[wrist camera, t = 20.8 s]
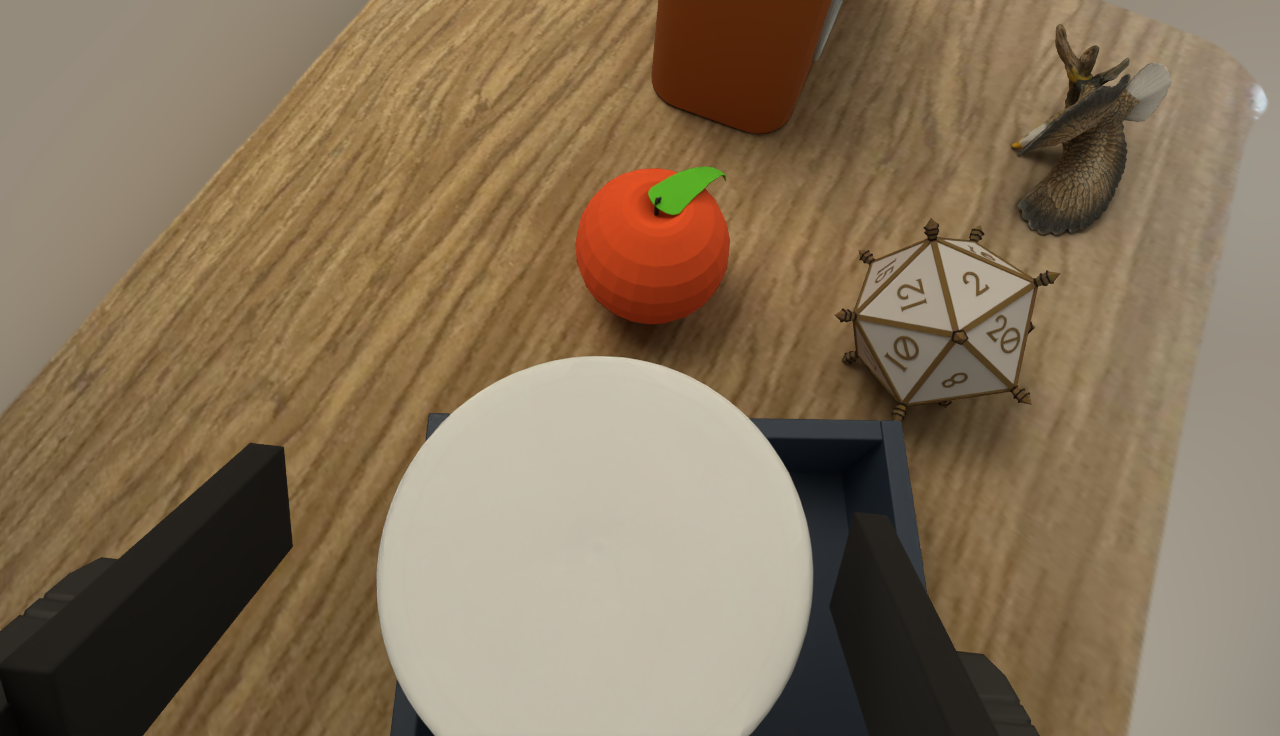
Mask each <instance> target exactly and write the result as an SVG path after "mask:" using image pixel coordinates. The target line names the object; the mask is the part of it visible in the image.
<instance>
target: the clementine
mask: <svg viewBox="0 0 1280 736" xmlns="http://www.w3.org/2000/svg"><path fill="white" fill-rule="evenodd" d="M720 176H723V178H724V180H725V181H726V176H725V174H724V173H723V172H721V171H720V170H718V169H716V168H713V167H698V168H691V169H688V170H685V171H681V172H679V173H677V172H674V171H671V170H665V169H659V168H655V169H640V170H636V171H632V172H629V173H625V174H622V175H620V176H618V177H617V178H615V179H613V180H611V181H609V182H608V183H607V184H606V185H605V186H604V187H603V188H602V189H600V190H599V191H598V192H597V193H596V195H595V196H594V197H593V198H592V199H591V201H590V202H589V204H588V206H587V207H586V209H585V211H584V212H583V214H582V216H581V220H580V224H579V229H578V233H577V238H576V255H577V263H578V266H579V269H580V272H581V274H582V277H583V279H584V282H585V284H586V287H587V288H588V289H589V291H590V292H591V293H592V295H593V296H594V297H595V298H596V300H597V301H598V302H600V303H601V304H602V305H604V306H605V307H606V308H607V309H609V310H610V311H611V312H613V313H614V314H616V315H618V316H620V317H622V318H625V319H627V320H629V321H632V322H637V323H643V324H661V323H668V322H671V321H674V320H677V319H680V318H683V317H686V316H688V315H689V314H691V313H693V312H694V311H696V310H697V309H699V308H700V307H702V306H703V305H704V304H705V303H706V302H707V301H708V299H709V298H710V297H711V296H712V295H713V294H714V292H715V291H716V289H717V288H718V286H719V284H720V282H721V280H722V278H723V276H724V274H725V272H726V269H727V263H728V256H729V245H730V239H729V233H728V228H727V223H726V221H725V219H724V217H723V214H722V212H721V210H720V208H719V206H718V204H717V202H716V200H715V199H714V198H713V197H712V196H711V195H710V193H709V192H708V191H707V190H706V189H705V187H706V186H707V185H708V184H709V183H711V182H712V181H714V180H715V179H717V178H718V177H720Z"/></svg>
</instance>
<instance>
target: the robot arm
mask: <svg viewBox="0 0 1280 736" xmlns="http://www.w3.org/2000/svg"><path fill="white" fill-rule="evenodd" d="M292 547H293V544H292V533H291V522H290V510H289V499H288V488H287V477H286V466H285V455H284V447H281V446H272V445H264V444H255V443H250V444H248V445H247V446H246V447H245V448H244V449H243V450H242V451H240V452H239V453H238V454H237V455H236V456H235V457H234V458H233V459H231V460H230V461H229V462H228V463H227V464H226V465H225V466H223V467H222V468H221V469H220V470H219V471H218V472H217V473H216V474H214V475H213V476H212V477H211V478H210V479H209V480H208V481H206V482H205V483H204V484H203V485H202V486H201V487H200V488H198V489H197V490H196V491H195V492H194V493H193V494H192V495H191V496H189V497H188V498H187V499H186V500H185V501H184V502H183V503H181V504H180V505H179V506H178V507H177V508H176V509H175V510H174V511H172V512H171V513H170V514H169V515H168V516H167V517H166V518H164V519H163V520H162V521H161V522H160V523H159V524H158V525H157V526H155V527H154V528H153V529H152V530H151V531H150V532H149V533H147V534H146V535H145V536H144V537H143V538H142V539H141V540H140V541H138V542H137V543H136V544H135V545H134V546H133V547H132V548H130V549H129V550H128V551H127V552H126V553H125V554H124V555H122V556H121V557H120V558H119V559H112V558H103V557H101V558H99V559H97V560H95V561H93V562H91V563H89V564H87V565H85V566H83V567H81V568H79V569H77V570H76V571H74V572H72V573H70V574H68V575H67V576H66V577H65V578H63V579H62V580H61V581H60V582H59V583H57V584H56V585H55V586H54V587H53V588H51V589H50V590H49V591H48V592H47V593H45V596H44V598H39V599H38V600H37V601H36V602H35V603H33V604H32V605H31V606H30V607H29V608H27V609H26V610H25V612H24V614H23V616H22V615H19V616H18V617H17V618H15V619H14V620H13V621H12V622H11V623H9V624H8V625H7V626H6V627H5V628H3V629H2V630H1V631H0V736H143V735H144V733H145V732H146V731H147V730H148V728H149V727H150V726H151V725H152V723H153V722H154V721H155V720H156V718H157V717H158V716H159V715H160V713H161V712H162V711H163V710H164V708H165V707H166V706H167V704H168V703H169V702H170V701H171V699H172V698H173V697H174V696H175V694H176V693H177V692H178V691H179V689H180V688H181V687H182V686H183V684H184V683H185V682H186V681H187V679H188V678H189V677H190V675H191V674H192V673H193V672H194V670H195V669H196V668H197V667H198V665H199V664H200V663H201V662H202V660H203V659H204V658H205V657H206V655H207V654H208V653H209V652H210V650H211V649H212V648H213V646H214V645H215V644H216V643H217V641H218V640H219V639H220V638H221V636H222V635H223V634H224V633H225V631H226V630H227V629H228V628H229V626H230V625H231V624H232V623H233V621H234V620H235V619H236V617H237V616H238V615H239V614H240V612H241V611H242V610H243V609H244V607H245V606H246V605H247V604H248V602H249V601H250V600H251V599H252V597H253V596H254V595H255V594H256V592H257V591H258V590H259V588H260V587H261V586H262V585H263V583H264V582H265V581H266V580H267V578H268V577H269V576H270V575H271V573H272V572H273V571H274V570H275V568H276V567H277V566H278V565H279V563H280V562H281V561H282V559H283V558H284V557H285V556H286V554H287V553H288V552H289V551H290V549H291V548H292ZM829 608H830V611H831V615H832V618H833V621H834V624H835V627H836V631H837V634H838V637H839V640H840V644H841V647H842V650H843V653H844V656H845V660H846V663H847V666H848V669H849V673H850V676H851V679H852V682H853V685H854V689H855V692H856V695H857V698H858V702H859V705H860V708H861V711H862V715H863V718H864V721H865V724H866V727H867V731H868V734H869V736H1040V735H1039V734H1038V732H1037V730H1036V728H1035V727H1034V725H1031V720H1030V718H1029V716H1028V714H1027V713H1026V711H1025V709H1024V707H1023V706H1022V705H1020V703H1019V702H1020V700H1019V699H1018V697H1017V695H1016V693H1015V691H1014V690H1013V688H1012V686H1011V684H1010V683H1009V681H1008V679H1007V677H1006V676H1005V675H1004V674H1003V673H1002V672H1001V671H1000V670H999V669H998V668H997V667H996V666H995V665H994V664H993V663H992V662H991V661H990V660H989V659H988V658H987V657H986V656H985V655H984V654H978V653H969V652H960V651H956V650H955V648H954V646H953V644H952V642H951V640H950V638H949V636H948V634H947V632H946V630H945V628H944V626H943V624H942V622H941V620H940V618H939V616H938V614H937V612H936V610H935V608H934V606H933V604H932V602H931V600H930V598H929V596H928V594H927V592H926V590H925V588H924V587H923V585H922V583H921V581H920V579H919V577H918V575H917V573H916V571H915V569H914V567H913V565H912V563H911V561H910V559H909V557H908V555H907V553H906V551H905V549H904V547H903V545H902V543H901V541H900V539H899V537H898V535H897V533H896V531H895V529H894V527H893V525H892V523H891V522H890V520H889V518H888V516H886V515H878V514H869V513H860V512H854V516H853V520H852V523H851V527H850V531H849V534H848V538H847V542H846V546H845V549H844V553H843V557H842V561H841V564H840V568H839V572H838V575H837V579H836V583H835V587H834V590H833V594H832V598H831V602H830V605H829Z"/></svg>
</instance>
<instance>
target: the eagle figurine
mask: <svg viewBox="0 0 1280 736" xmlns="http://www.w3.org/2000/svg"><path fill="white" fill-rule="evenodd" d="M1066 37H1067V35H1066V30H1065V28H1064V26H1063V25H1062V24H1059V25H1058V26H1057V27H1056V40H1055V43H1056V48H1057V52H1058V54H1059V56H1060V58H1061V60H1062V61H1063V62H1064V64H1065V69H1066V71H1067V75H1068V78H1069V91H1068V93H1067V99H1066V100H1065V104H1066V107H1065V109H1064V110H1062V111H1060V112H1058V113H1057V114H1055V115H1054V116H1052V117H1051V118H1050V119H1049V120H1048V121H1046V122H1045V123H1043V124H1042V125H1040V126H1039V127H1037V128H1036V129H1034V130H1032V131H1031V132H1029V133H1028V134H1027V135H1026V136H1025V137H1023V138H1022V139H1021V140H1020V141H1018V142H1017V143H1012V145H1011V146H1012V148H1023V149H1022V150H1021V151H1020V152H1019V154H1018V155H1017V156H1018V157H1020V156H1022V155H1023V154H1025V153H1026V152H1028V151H1031V150H1034V149H1037V148H1042V147H1048V146H1055V145H1057V144H1060V143H1062V144H1063V153H1062V156H1061V158H1060V159H1059V160H1058V162H1057V163H1056V165H1055V166H1054V167H1053V169H1052V170H1051V172H1050V173H1049V175H1048V176H1047V177H1046V178H1045V179H1044V180H1043V181H1042V182H1040V183H1039V184H1038V185H1037V186H1035V187H1034V188H1033V189H1032V190H1031V191H1030V192H1029V193H1027V194H1026V195H1025V196H1024V197H1023V198H1022V199H1021V201H1020V202H1019V203H1018V208H1019V209H1021V210H1022V218H1023V219H1024V220H1027V221H1029V223H1028V225H1029V227H1030V229H1031V230H1037V231H1038V232H1039V234H1042V235H1045V234H1047V233H1049V232H1052V233H1053V234H1054V235H1060V234H1062V233H1063V232H1064V231H1065V230H1066V229H1068V230H1069V232H1070V233H1073V232H1075V231H1076V230H1077V229H1078V228H1080V229H1085V228H1086V227H1087V226H1089V225H1090V224H1092V223H1093V222H1094V220H1096V219H1099V217H1100V216H1101V214H1102V212H1104V211H1105V210H1106V209H1107V207H1108V204H1109V202H1110V201H1111V199H1112V197H1113V196H1114V193H1115V188H1117V187H1118V183H1119V182H1120V180H1121V176H1122V175H1121V174H1123V172H1124V169H1125V163H1126V160H1127V159H1126V154H1127V149H1126V146H1127V143H1126V142H1125V140H1124V139H1125V135H1124V133H1123V129H1124V126H1123V124H1122V122H1123V121H1124V120H1128V121H1136V122H1139V121H1144V120H1146V119H1147V118H1149V117H1150V116H1151V115H1152V114H1153V113H1154V112H1155V110H1156V108H1157V107H1158V106H1159V104H1160V102H1161V101H1162V100H1163V98H1164V97H1165V96H1166V94H1167V91H1168V88H1169V87H1170V85H1171V82H1172V79H1171V76H1170V71H1169V70H1168V69H1167V68H1166V67H1165V66H1164V65H1162V64H1160V63H1150V64H1148V65H1146V66H1145V67H1144V68H1143V69H1141V70H1140V71H1139V72H1138V73H1137V74H1136V75H1135V76H1134V78H1133V79H1132V80H1131V81H1130V82H1129V80H1130V75H1129V74H1128V75H1125V76H1123V77H1122V78H1121V80H1120V81H1119V83H1118V84H1117V85H1116V86H1113V87H1110V86H1108V87H1107V86H1102V85H1103V84H1105V83H1106V82H1108V81H1111V80H1114V79H1116V78H1117V76H1118V75H1119V74H1120V73H1121V72H1122V71H1123V70H1124V69H1125V68H1126V67H1127V66H1128V65H1129V58H1126V59H1125V60H1123V61H1122V62H1121V63H1120V64H1119V65H1117V66H1116V67H1114V68H1112V69H1110V70H1108V71H1106V72H1103V73H1099V74H1097V75H1096V76H1094V77H1093V75H1092V74H1091V71H1092V69H1093V67H1094V65H1095V62H1096V58H1097V55H1098V52H1099V47H1098V46H1097V45H1096V46H1092V47H1090V48H1089V49H1087V50H1086V51H1085V52H1084V53H1083V54H1082V55H1081V57H1080V59H1078V58H1077V57H1076V56H1075V54H1074V53H1073V51H1072V49H1071V48H1070V46H1069V43H1068V41H1067V39H1066ZM1128 82H1129V84H1128ZM1127 84H1128V85H1127ZM1126 85H1127V86H1126Z"/></svg>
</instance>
